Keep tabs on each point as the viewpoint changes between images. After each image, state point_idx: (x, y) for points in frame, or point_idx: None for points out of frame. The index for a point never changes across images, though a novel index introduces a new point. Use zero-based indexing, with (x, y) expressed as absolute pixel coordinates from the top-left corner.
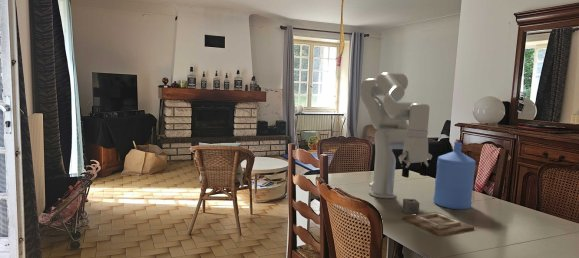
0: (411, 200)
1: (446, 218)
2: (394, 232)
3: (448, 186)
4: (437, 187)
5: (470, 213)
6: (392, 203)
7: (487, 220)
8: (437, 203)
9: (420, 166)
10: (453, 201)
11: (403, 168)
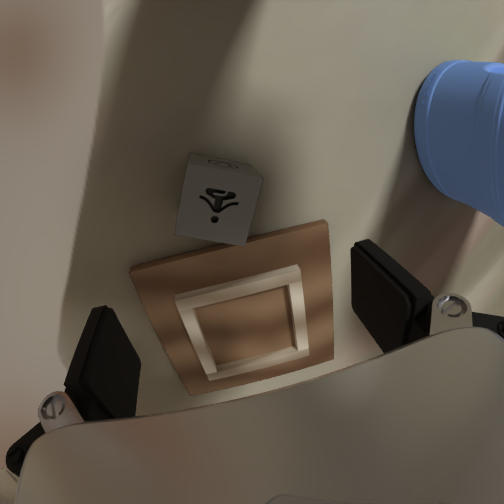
0: (228, 190)
1: (293, 321)
2: (69, 360)
3: (486, 190)
4: (469, 115)
5: (442, 228)
6: (199, 43)
7: (430, 288)
8: (415, 119)
9: (402, 298)
10: (448, 188)
11: (73, 399)
